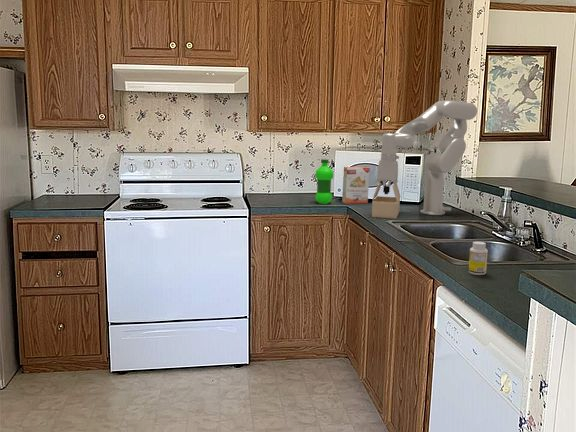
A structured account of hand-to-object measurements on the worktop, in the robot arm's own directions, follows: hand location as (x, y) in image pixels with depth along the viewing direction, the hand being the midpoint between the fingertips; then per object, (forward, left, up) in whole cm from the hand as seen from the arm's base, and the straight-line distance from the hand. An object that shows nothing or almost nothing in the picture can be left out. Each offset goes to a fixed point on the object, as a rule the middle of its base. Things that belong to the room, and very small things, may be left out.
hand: (386, 193), depth 299 cm
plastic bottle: (+38, -26, -11) cm, 47 cm away
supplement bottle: (-40, +104, -11) cm, 112 cm away
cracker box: (+21, -34, -11) cm, 41 cm away
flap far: (+4, 0, +2) cm, 5 cm away
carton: (0, 0, -11) cm, 11 cm away
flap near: (-5, 0, +2) cm, 5 cm away
